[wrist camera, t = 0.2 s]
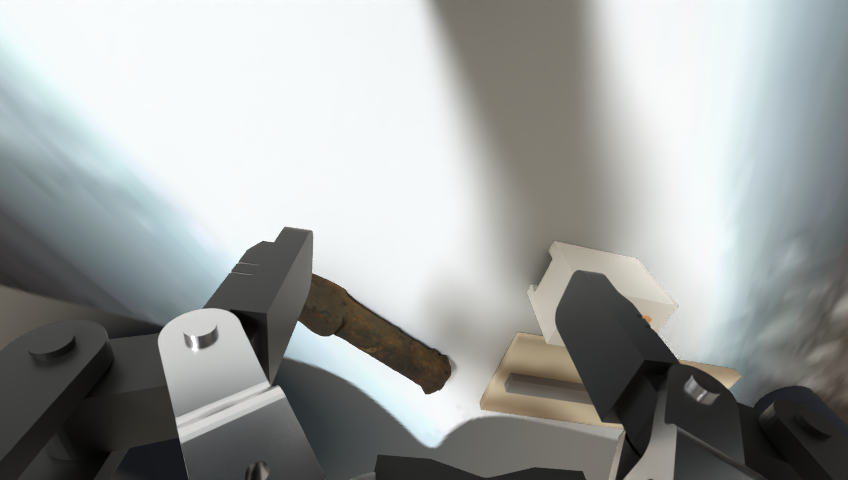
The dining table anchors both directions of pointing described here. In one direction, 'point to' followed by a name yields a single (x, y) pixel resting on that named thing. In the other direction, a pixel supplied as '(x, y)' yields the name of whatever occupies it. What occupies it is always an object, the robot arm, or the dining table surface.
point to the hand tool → (371, 335)
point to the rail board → (554, 383)
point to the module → (619, 271)
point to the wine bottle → (806, 399)
